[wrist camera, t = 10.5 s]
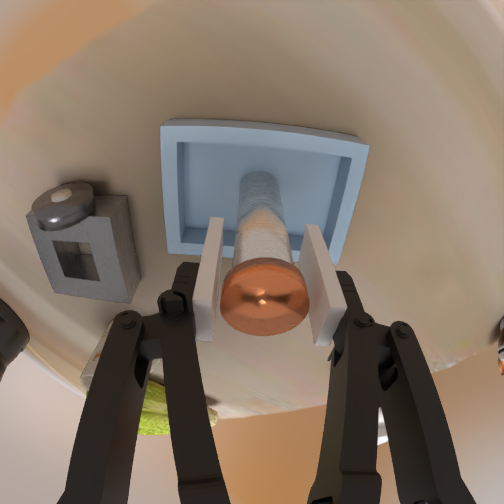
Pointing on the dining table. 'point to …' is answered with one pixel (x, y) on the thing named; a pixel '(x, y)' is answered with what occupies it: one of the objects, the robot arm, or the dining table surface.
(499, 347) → the lucky cat figurine
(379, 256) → the dining table surface
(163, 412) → the lettuce
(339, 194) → the tray
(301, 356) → the dining table surface
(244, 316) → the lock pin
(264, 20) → the dining table surface
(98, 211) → the block
